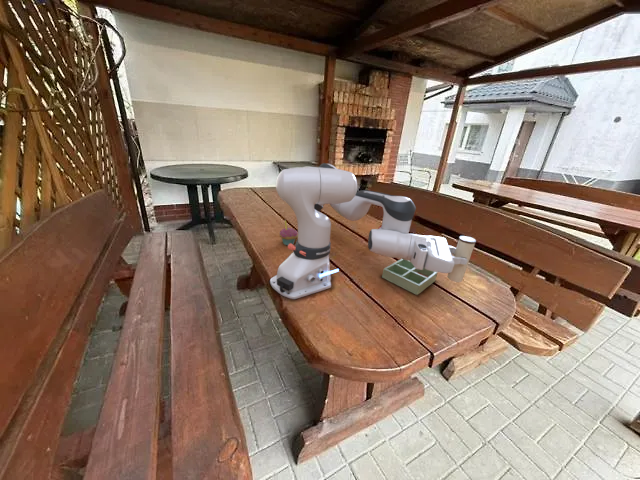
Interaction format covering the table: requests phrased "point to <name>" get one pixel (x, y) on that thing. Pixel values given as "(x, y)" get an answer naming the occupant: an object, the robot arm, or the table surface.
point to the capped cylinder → (462, 250)
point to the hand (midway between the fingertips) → (464, 257)
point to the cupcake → (288, 235)
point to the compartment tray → (409, 276)
